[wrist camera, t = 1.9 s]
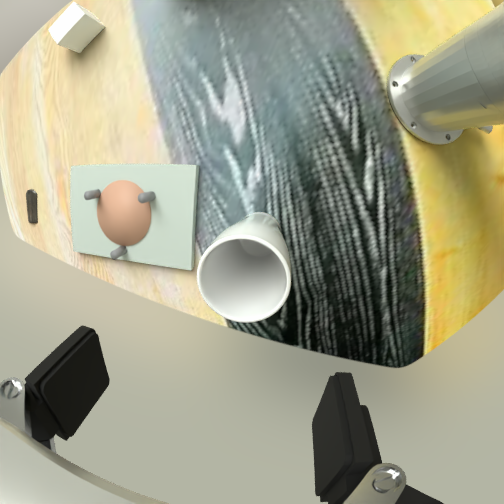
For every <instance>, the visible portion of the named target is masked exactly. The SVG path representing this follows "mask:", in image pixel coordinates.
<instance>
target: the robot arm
mask: <svg viewBox="0 0 504 504" xmlns="http://www.w3.org/2000/svg"><path fill="white" fill-rule="evenodd" d="M393 85H394V86H393ZM387 91H388V97H389V100H390V103H391V106H392V108H393V110H394V112H395V114H396V116H397V117H398V119H399V120H400V122H401V123H402V124H403V125H404V127H405V128H406V129H407V130H408V131H409V132H410V133H412V134H413V135H414V136H416V137H417V138H419V139H420V140H422V141H424V142H427V143H430V144H435V145H442V144H448V143H451V142H453V141H455V140H456V139H457V138H458V137H459V136H460V135H461V134H462V132H463V130H464V129H468V128H476V127H477V128H478V129H480V130H482V131H484V132H486V133H490V132H491V131H492V127H493V126H492V125H502V124H504V1H503V2H502V3H501V4H500V5H498V6H497V7H496V8H494V9H493V10H491V11H490V12H489V13H487V14H486V15H484V16H483V17H481V18H480V19H478V20H477V21H475V22H474V23H472V24H471V25H469V26H468V27H466V28H464V29H463V30H461V31H460V32H458V33H457V34H455V35H454V36H452V37H451V38H450V39H448V40H447V41H445V42H444V43H442V44H441V45H439V46H438V47H437V48H435V49H434V50H432V51H431V52H429V53H428V54H427V55H425V56H423V55H417V54H413V55H407V56H404V57H402V58H400V59H399V60H398V61H397V62H396V63H395V64H394V65H393V66H392V67H391V69H390V71H389V74H388V78H387ZM411 125H412V126H411ZM25 381H26V384H25V385H24V383H23V382H22V381H21V380H20V379H18V378H8V379H6V380H4V381H3V382H1V384H0V504H169V503H165V502H162V501H159V500H156V499H153V498H149V497H147V496H144V495H141V494H138V493H136V492H133V491H130V490H128V489H125V488H123V487H120V486H118V485H116V484H113V483H111V482H109V481H106V480H105V479H102V478H100V477H98V476H96V475H94V474H92V473H90V472H88V471H86V470H84V469H82V468H80V467H79V466H77V465H75V464H73V463H71V462H69V461H68V460H66V459H64V458H63V457H61V456H59V455H58V454H56V450H55V443H54V435H55V434H57V435H58V436H59V437H61V438H62V439H64V440H67V439H68V438H69V437H71V436H73V435H74V433H75V432H76V430H77V429H78V428H79V426H80V425H81V424H82V422H83V421H84V419H85V418H86V416H87V415H88V413H89V412H90V411H91V409H92V408H93V406H94V405H95V403H96V402H97V401H98V399H99V398H100V397H101V395H102V394H103V392H104V391H105V390H106V388H107V387H108V385H109V376H108V373H107V369H106V365H105V362H104V358H103V354H102V350H101V346H100V342H99V337H98V335H97V334H96V332H95V330H94V329H92V328H89V327H86V326H81V327H79V328H78V329H77V330H76V331H75V332H74V333H72V334H71V335H70V336H69V337H68V338H67V339H66V340H65V341H64V342H63V343H61V344H60V345H59V346H58V347H57V348H56V349H55V350H54V351H53V352H52V353H51V354H50V355H49V356H48V357H47V358H46V359H44V360H43V361H42V362H41V363H40V364H39V365H38V366H37V367H36V368H35V369H34V370H33V371H32V372H31V373H30V374H29V375H28V376H27V377H26V378H25ZM312 433H313V449H314V467H315V493H316V496H320V501H321V502H328V504H443V503H442V502H440V501H438V500H436V499H434V498H432V497H430V496H428V495H425V494H424V493H421V492H420V491H418V490H416V489H414V488H412V487H410V486H408V485H406V476H405V473H404V471H403V470H402V469H401V468H400V467H398V466H397V465H394V464H391V463H382V460H381V456H380V452H379V448H378V445H377V440H376V436H375V432H374V428H373V425H372V421H371V418H370V414H369V411H368V408H367V407H366V406H365V405H360V402H359V398H358V395H357V391H356V388H355V384H354V380H353V377H352V374H351V373H342V372H341V373H340V372H336V373H335V375H334V376H330V377H329V380H328V382H327V385H326V388H325V391H324V394H323V396H322V398H321V401H320V403H319V406H318V408H317V411H316V413H315V416H314V418H313V422H312Z"/></svg>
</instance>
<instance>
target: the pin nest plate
mask: <svg viewBox="0 0 504 504" xmlns="http://www.w3.org/2000/svg"><path fill="white" fill-rule="evenodd" d="M198 177H199V165H180V164H99V165H78V166H71V185H70V196H71V226H72V240H73V251H75V252H81V253H86V254H92V255H98V256H103V257H109V258H112V259H114V260H115V259H121V260H127V261H133V262H139V263H146V264H152V265H158V266H165V267H171V268H178V269H185V270H192V269H193V268H194V250H195V225H196V206H197V191H198Z"/></svg>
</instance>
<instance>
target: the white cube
mask: <svg viewBox="0 0 504 504" xmlns="http://www.w3.org/2000/svg"><path fill="white" fill-rule="evenodd" d="M104 28H105V25H104V24H103V23H102V22H101V21H100V20H99V19H98V18H97V17H96V16H95V15H94V14H93V13H92V12H90V11H89V10H87V9H85V8H84V7H82V6H80V5H79V4H77V3H75V2H73V3H72V4H71V5H70V6H69V7H68V8H67V9H66V10H65V11H64V12H63V14H62V15H61V16H60V17H59V18H58V19H57V20H56V21H55V22H54V24H53V25H52V26H51V27H50V28H49V32H50V33H51V35H52V37H53V38H54V40H55V42H56V43H57V44H58V45H60V46H63V47H65V48H68V49H70V50H73V51H75V52H77V53H81V51H82V50H83V49H84V48H85V47H86V46H87V45H88V44H89V43H90V42H91V41H92V40H93V39H94V38H95V37H96V36H97V35H98V34H99V33H100V32H101V31H102V30H103V29H104Z"/></svg>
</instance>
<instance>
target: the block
mask: <svg viewBox="0 0 504 504" xmlns="http://www.w3.org/2000/svg"><path fill="white" fill-rule="evenodd" d="M26 200H27V211H28V221H29V223H37V222H38V219H37V193H36V192H35V191H34V190H33V189H31V190H28V191H27V193H26Z"/></svg>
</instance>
